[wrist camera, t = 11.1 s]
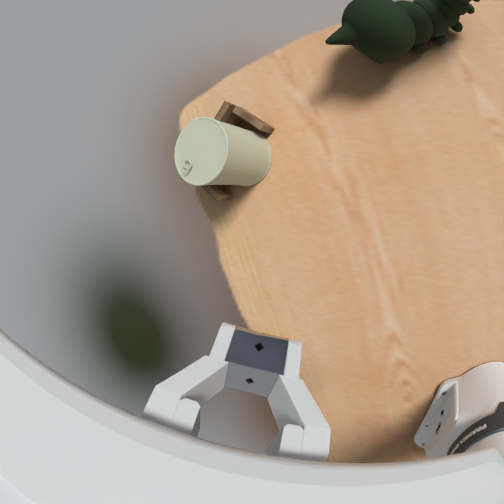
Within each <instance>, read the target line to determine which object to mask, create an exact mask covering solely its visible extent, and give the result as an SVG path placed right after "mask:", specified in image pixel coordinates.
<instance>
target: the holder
mask: <svg viewBox="0 0 504 504" xmlns="http://www.w3.org/2000/svg"><path fill="white" fill-rule="evenodd" d="M214 119H215V120H218V121H221V122H224V123H227V124H230V125H234V126H237V127H238V126H239V124H240V123H241V121H242V120H243V119H244V120H246V121H247V122H249V123H250V124H252V125H253V126H255V127H256V128H258V129H259V130H261V131H264V132H266V133H269V134H272V132H273V131H274V128H272V127H271V126H269V125H268V124H266V123H265V122H263V121H262V120H260V119H259V118H257V117H256V116H254V115H253V114H251V113H249V112H248V111H246V110H245V109H243V108H241V107H238V106H236V105H234V104H231V103H229V102H226V101H224V103H223V105H222V106H221V108H220V110H219V111H218V113H217V115H216V116H215V118H214ZM201 187H203V188H204V189H205V190H206V191H207V192H208V193H209V194H210V195H211V196H212V197H213V198H214V199H215V200H216V201H217V200H229V199H230V197H231V196H232V194H231V193H230V192H228V191H227V190H226V189H225V188H224V187H223V186H222V185H203V186H201Z"/></svg>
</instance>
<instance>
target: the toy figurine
mask: <svg viewBox="0 0 504 504" xmlns="http://www.w3.org/2000/svg"><path fill="white" fill-rule="evenodd" d="M470 1H471V0H414V1H413V2H409V1H397V2H394V1H392V0H353V1H352V2H350V3H349V4H348V6H347V7H346V9H345V10H344V13H343V16H342V27H341V28H339V29H338V30H337V31H336V32H335V33H333V34H332V35H331V36H330V37H329V38H328V39H327V40H326V44H330V45H353V46H354V47H355V48H356V49H357V50H358V51H360V52H361V53H363V54H365V55H366V56H369V57H370V58H372V59H373V60H375V61H376V62H378V63H383V62H385V61H389V60H394V59H397V58H400V57H402V56H403V55H405V54H407V53H408V52H409V51H410V49H412V50H413V51H414V52H416V53H423V52H425V51H426V50H427V45H426V41H428V40H429V39H430V37H432V38H433V39H434V41H435V42H436V43H438V44H444V43H445V41H446V39H445V36H444V35H443V34H444V33H445V32H446V31H447V30H448V27H451V29H453V30H454V31H456V32H460V31H461V30H462V29H463V28H462V24H461V23H460V22H459V17H460V15H464V14H465V13H466V12H467V13H469V14H472V13H474V7H473V6H472V5H471V4H469V2H470ZM473 1H475V2H479V1H480V0H473Z"/></svg>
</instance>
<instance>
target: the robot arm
mask: <svg viewBox="0 0 504 504" xmlns="http://www.w3.org/2000/svg"><path fill="white" fill-rule="evenodd" d="M301 352H302V342H300V341H295V340H291V339H287V338H283V337H278V336H274V335H269V334H265V333H259V332H256V331H252V330H249V329H245V328H242V327H238V326H235V325H231V324H228V323H224V322H223V323H222V324H221V327H220V329H219V332H218V334H217V337H216V340H215V342H214V345H213V347H212V350H211V353H210V355H209V356H206V355H205V356H203V357H202V358H200V359H199V360H197V361H196V362H194V363H192V364H191V365H189V366H188V367H186V368H184V369H183V370H181V371H180V372H178V373H176V374H175V375H173V376H171V377H170V378H168V379H166V380H165V381H163V382H161V383H160V384H158V385H157V386H155V389H154V390H153V393H152V395H151V397H150V399H149V401H148V403H147V405H146V407H145V409H144V411H143V414H142V416H141V417H140V416H138V415H136V414H133V413H131V412H129V411H127V410H125V409H123V408H121V407H118V406H116V405H114V404H112V403H110V402H108V401H106V400H104V399H102V398H101V397H99V396H97V395H95V394H93V393H91V392H89V391H88V390H86V389H84V388H82V387H81V386H79V385H77V384H75V383H74V382H72V381H71V380H69V379H67V378H66V377H64V376H62V375H61V374H59V373H58V372H56V371H55V370H53V369H52V368H50V367H49V366H47V365H46V364H44V363H43V362H41V361H40V360H39V359H37V358H36V357H35V356H33V355H32V354H31V353H29V352H28V351H27V350H25V349H24V348H23V347H21V346H20V345H19V344H17V343H16V342H15V341H14V340H12V339H11V338H10V337H9V336H7V335H6V334H5V333H4V332H3V331H2V330H1V329H0V504H504V363H502V362H489V363H485V364H482V365H479V366H477V367H475V368H473V369H471V370H469V371H468V372H466V373H465V374H463V375H461V376H459V377H456V378H452V379H448V380H446V381H444V382H442V383H441V385H440V387H439V389H438V391H437V393H436V395H435V397H434V400H433V402H432V404H431V406H430V408H429V410H428V412H427V414H426V416H425V417H424V419H423V421H422V423H421V425H420V427H419V429H418V430H417V432H416V434H415V436H414V442H415V443H416V444H417V445H418V446H419V447H421V448H423V449H425V455H426V457H427V458H428V459H422V460H413V461H402V462H387V463H338V462H328V456H329V445H330V432H331V429H330V427H329V425H328V423H327V422H326V420H325V418H324V416H323V415H322V413H321V411H320V409H319V408H318V406H317V404H316V402H315V401H314V399H313V397H312V395H311V393H310V392H309V390H308V388H307V386H306V385H305V383H304V381H303V379H299V372H300V363H301ZM224 387H227V388H232V389H236V390H240V391H245V392H248V393H252V394H256V395H260V396H264V397H268V398H267V399H268V402H269V404H270V407H271V409H272V412H273V415H274V417H275V420H276V422H277V425H278V427H279V430H280V432H279V433H278V434H277V435H276V436H275V437H274V439H273V440H272V441H271V442H270V443H269V444H268V445H267V450H266V454H262V453H256V452H251V451H247V450H242V449H238V448H233V447H229V446H226V445H222V444H218V443H214V442H211V441H207V440H204V439H201V438H197V435H198V432H199V429H200V407H201V406H202V405H203V404H205V403H206V402H207V401H208V400H209V399H211V398H212V397H213V396H214V395H216V394H217V393H218V392H219V391H221V390H222V389H223V388H224ZM443 392H446V393H443Z"/></svg>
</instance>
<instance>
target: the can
mask: <svg viewBox="0 0 504 504" xmlns="http://www.w3.org/2000/svg"><path fill="white" fill-rule="evenodd" d="M271 162H272V151H271V147H270V145H269V143H268V141H267V140H266V138H265V137H264V136H263V135H261V134H260V133H258V132H256V131H251V130H246V129H243V128H240V127H237V126H234V125H230V124H227V123H224V122H221V121H218V120H215V119H213V118H210V117H200V118H197V119H194V120H192V121H191V122H190V123H188V124H187V125H186V126H185V127H184V128H183V130H182V131H181V133H180V135H179V137H178V139H177V142H176V146H175V164H176V168H177V170H178V172H179V174H180V176H181V177H182V178H183V179H184V180H185V181H186V182H187V183H189V184H191V185H195V186H203V185H240V186H251V185H254V184H256V183H258V182H260V181H261V180H262V179H263V178H264V177H265V176H266V174H267V173H268V171H269V169H270V166H271Z"/></svg>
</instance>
